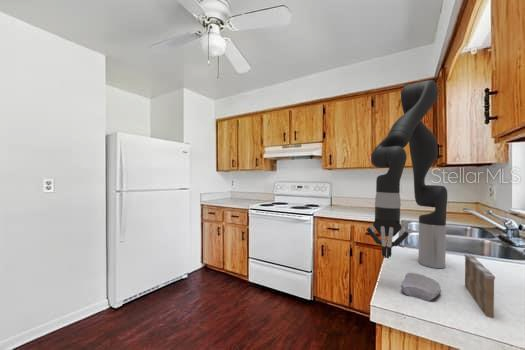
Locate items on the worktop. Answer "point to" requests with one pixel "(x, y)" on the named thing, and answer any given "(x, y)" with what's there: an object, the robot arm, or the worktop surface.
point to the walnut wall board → (480, 284)
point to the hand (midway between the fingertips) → (386, 257)
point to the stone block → (420, 286)
